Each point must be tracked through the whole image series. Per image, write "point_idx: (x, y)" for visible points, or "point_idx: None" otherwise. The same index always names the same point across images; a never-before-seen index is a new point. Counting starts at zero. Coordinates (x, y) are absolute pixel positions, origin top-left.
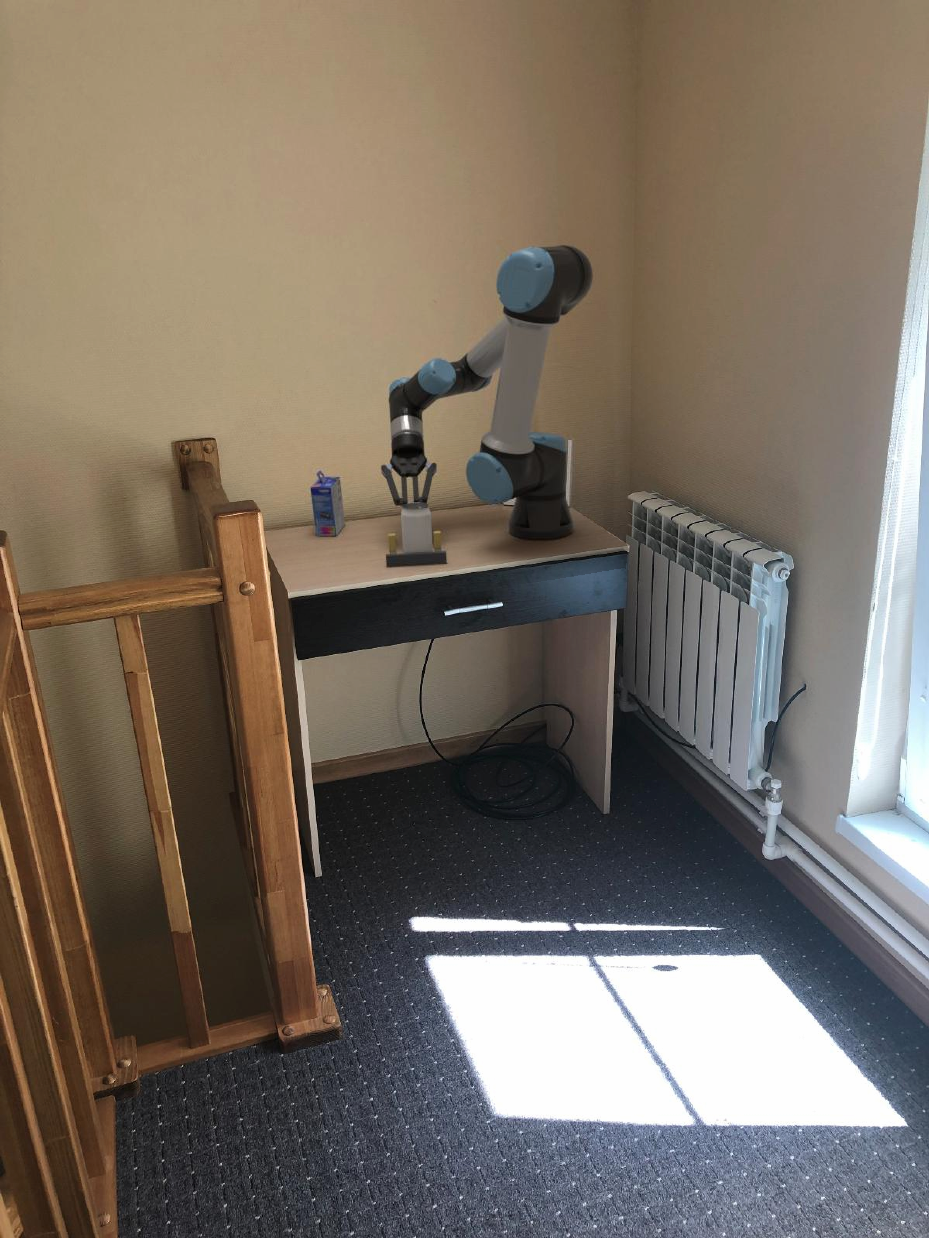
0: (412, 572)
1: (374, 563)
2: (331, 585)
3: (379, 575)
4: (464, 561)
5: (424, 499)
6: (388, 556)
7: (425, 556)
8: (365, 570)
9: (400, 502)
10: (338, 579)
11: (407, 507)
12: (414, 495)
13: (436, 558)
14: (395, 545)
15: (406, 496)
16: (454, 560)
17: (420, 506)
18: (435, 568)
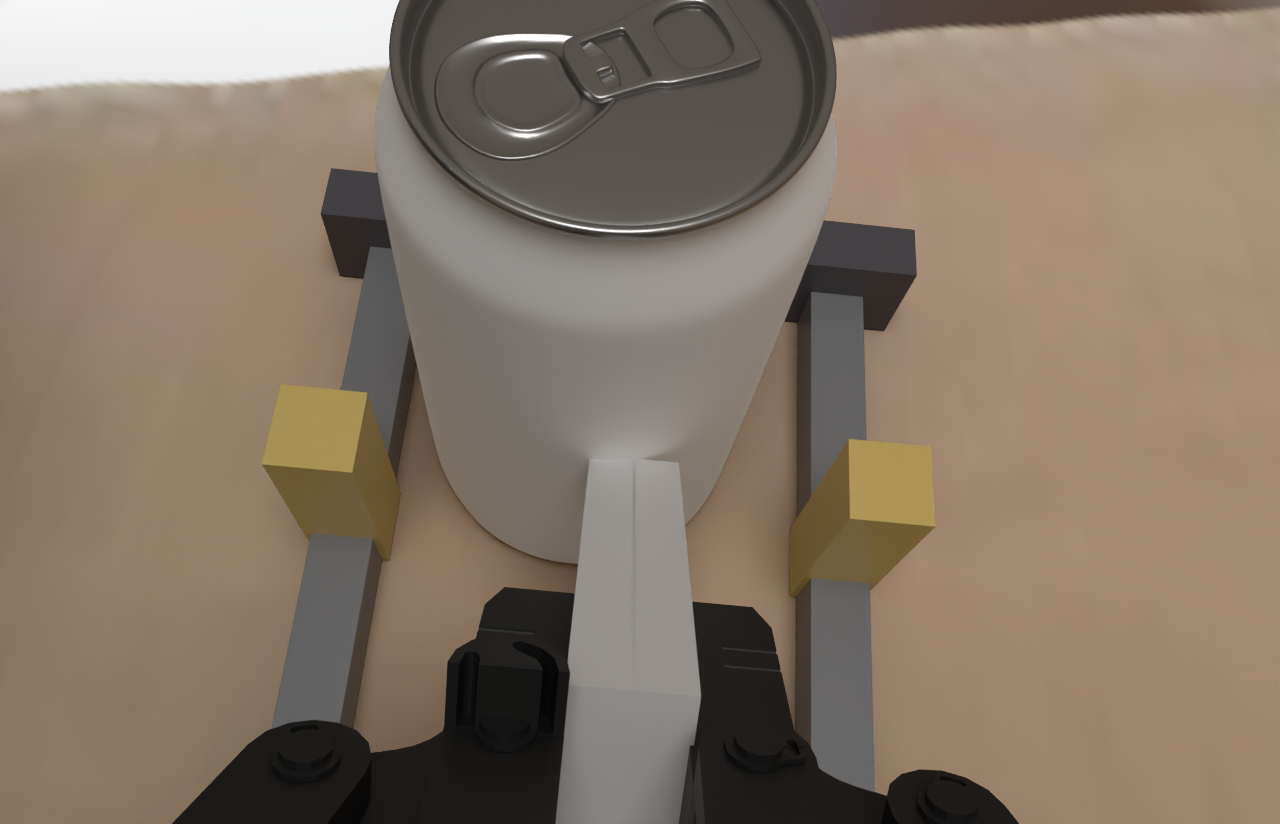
0: None
1: (995, 410)
2: (1260, 40)
3: (932, 128)
4: (175, 247)
5: (322, 726)
6: (888, 229)
7: None
8: (1056, 260)
9: (845, 791)
10: (1237, 131)
11: (750, 62)
12: (532, 810)
13: None
14: (822, 486)
15: (727, 821)
16: (256, 295)
17: (525, 82)
18: None
